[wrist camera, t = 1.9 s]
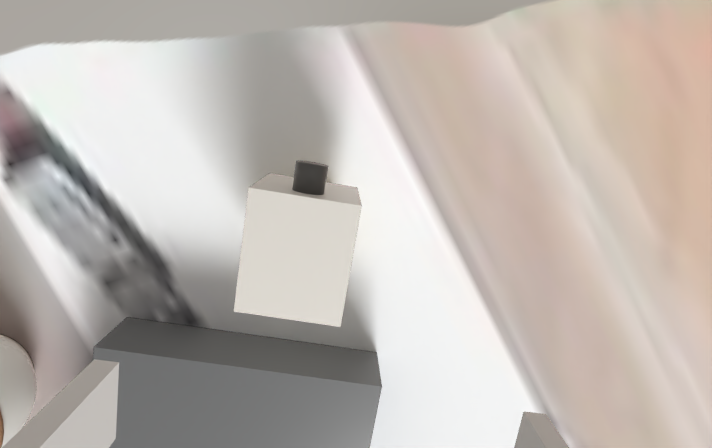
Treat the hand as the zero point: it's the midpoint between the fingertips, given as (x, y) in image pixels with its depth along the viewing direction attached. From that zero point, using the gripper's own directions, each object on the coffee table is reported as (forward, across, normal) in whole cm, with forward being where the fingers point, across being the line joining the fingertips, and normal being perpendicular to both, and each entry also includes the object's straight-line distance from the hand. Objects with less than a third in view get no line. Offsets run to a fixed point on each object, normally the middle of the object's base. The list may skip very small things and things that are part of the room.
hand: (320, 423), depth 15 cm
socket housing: (+21, -6, -18) cm, 28 cm away
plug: (+21, -2, +2) cm, 22 cm away
